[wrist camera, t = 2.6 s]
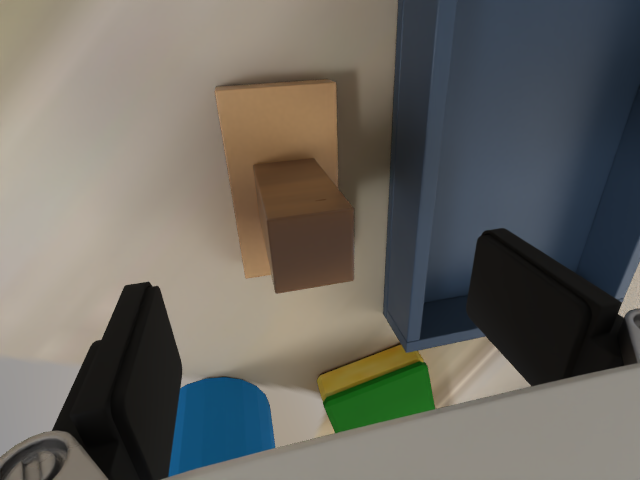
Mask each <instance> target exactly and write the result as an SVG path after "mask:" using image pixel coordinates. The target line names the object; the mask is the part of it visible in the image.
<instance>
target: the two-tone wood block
mask: <svg viewBox="0 0 640 480" xmlns="http://www.w3.org/2000/svg"><path fill="white" fill-rule="evenodd" d="M215 96H216V102H217V108H218V114H219V120H220V126H221V132H222V139H223V145H224V151H225V157H226V163H227V169H228V175H229V181H230V187H231V193H232V199H233V205H234V212H235V218H236V224H237V230H238V236H239V242H240V248H241V254H242V260H243V266H244V272H245V278H246V279H247V278H253V277H260V276H266V275H271V276H272V280H273V285H274V290H275V293H277V294H278V293H284V292H290V291H295V290H301V289H307V288H313V287H319V286H325V285H331V284H337V283H343V282H349V281H353V280H354V208H353V207H352V205H351V204H350V203H349V202H348V200H347V199H346V198H345V197H344V195H343V194H342V193H341V191H340V190H339V189H338V143H337V92H336V82H334V81H331V80H328V79H321V80H307V81H292V82H278V83H263V84H249V85H234V86H220V87H216V88H215Z"/></svg>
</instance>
